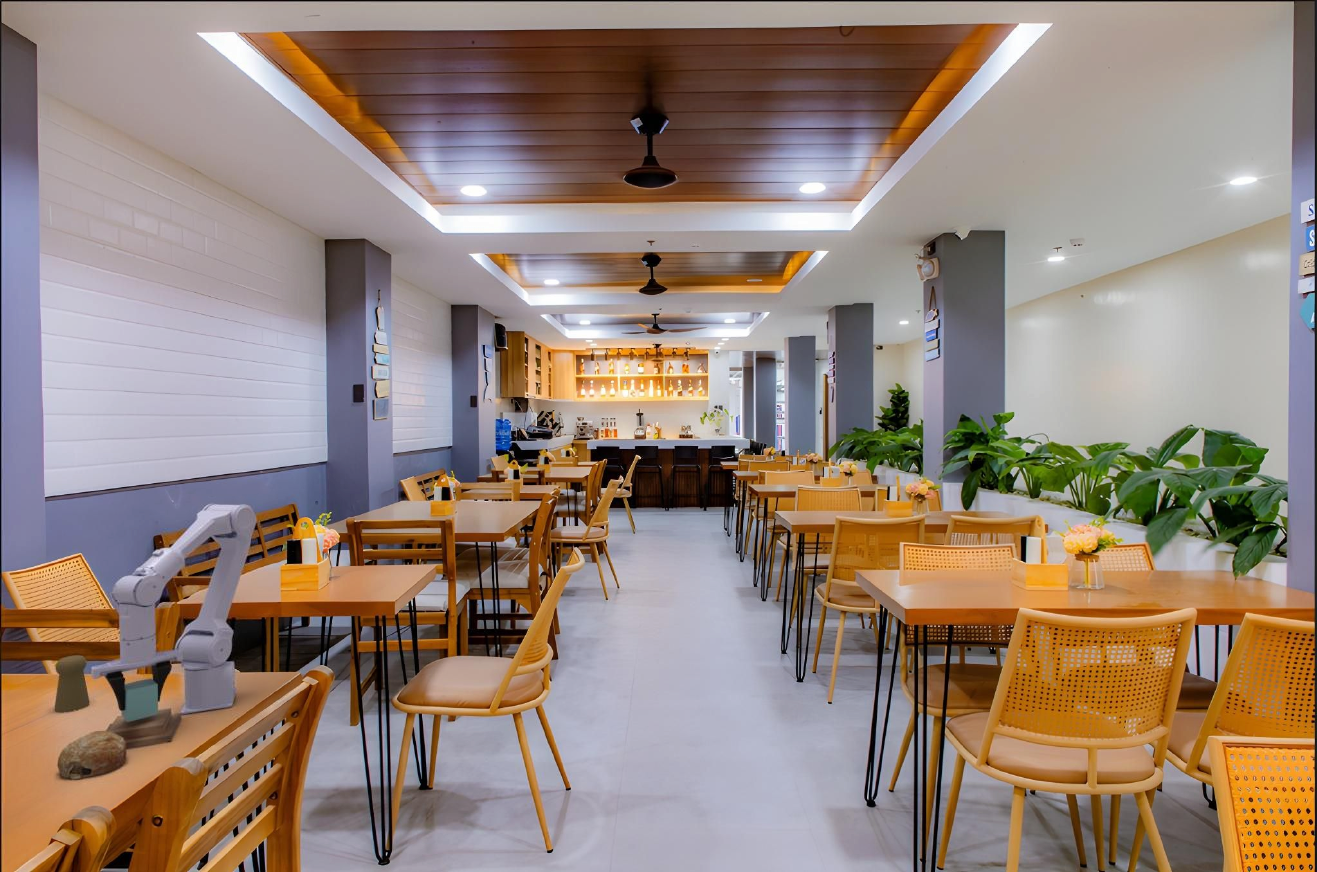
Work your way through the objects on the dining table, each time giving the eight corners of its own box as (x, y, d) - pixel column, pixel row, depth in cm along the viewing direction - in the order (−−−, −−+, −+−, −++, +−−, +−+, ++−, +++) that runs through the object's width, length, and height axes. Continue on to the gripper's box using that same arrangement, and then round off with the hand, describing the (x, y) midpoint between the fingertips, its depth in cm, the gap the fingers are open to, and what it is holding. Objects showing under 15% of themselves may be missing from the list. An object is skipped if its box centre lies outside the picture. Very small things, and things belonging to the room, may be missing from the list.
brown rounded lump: (53, 800, 125) (44, 768, 122) (71, 753, 133) (63, 721, 130) (122, 788, 129) (116, 756, 126) (135, 743, 137) (129, 712, 134)
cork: (69, 713, 153) (68, 662, 153) (46, 711, 155) (45, 660, 154) (97, 702, 159) (95, 653, 159) (74, 700, 160) (73, 651, 160)
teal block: (151, 707, 146) (151, 677, 146) (158, 714, 142) (157, 684, 142) (121, 714, 142) (120, 684, 142) (127, 722, 139) (126, 691, 139)
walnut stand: (181, 718, 150) (180, 704, 150) (170, 741, 140) (170, 726, 139) (110, 729, 145) (110, 714, 145) (94, 754, 134) (93, 738, 134)
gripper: (175, 624, 150) (176, 689, 150) (87, 640, 139) (89, 710, 140) (185, 631, 145) (186, 698, 145) (94, 648, 135) (96, 720, 135)
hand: (139, 704), depth 142 cm, fingers closed on teal block, 5 cm apart
